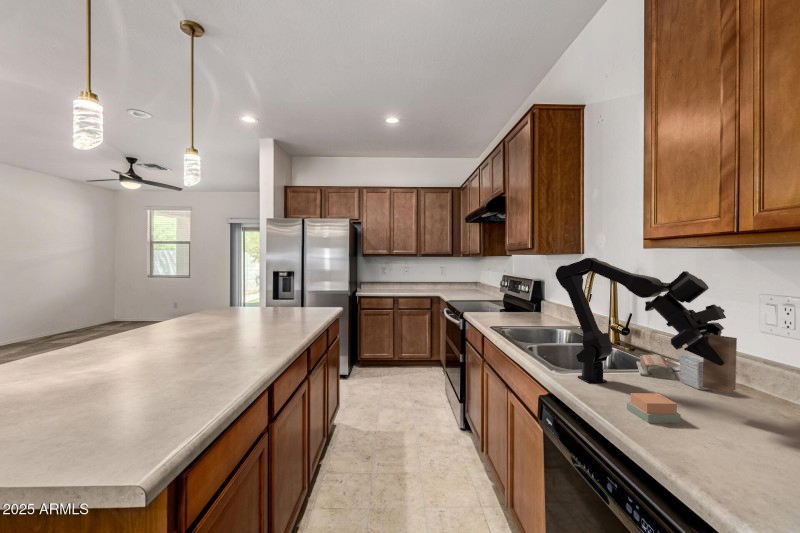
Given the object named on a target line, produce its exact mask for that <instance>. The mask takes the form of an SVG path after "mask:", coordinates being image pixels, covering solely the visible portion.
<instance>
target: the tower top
mask: <svg viewBox="0 0 800 533" xmlns="http://www.w3.org/2000/svg"><path fill="white" fill-rule="evenodd" d="M630 402H631V403H632V404H633V405H635V406H636V407H638V408H639V409H641V410H642V411H644V412H645V413H647V414H677V413H678V412H677V411H678V409H677V408H678V404H677V403H676V402H675V401H674V400H673V401H672V400H671V399H669V398H667V397H666V396H664V395H661V394H660V393H656V392H655V393H645V392H644V393H642V392H641V393H640V392H639V393H636V392H633V393H632V392H631V393H630Z"/></svg>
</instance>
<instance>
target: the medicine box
mask: <svg viewBox="0 0 800 533" xmlns="http://www.w3.org/2000/svg"><path fill="white" fill-rule="evenodd" d="M679 382H680V383H681V384H684V385H687V386H690V387H692V388H694V389H695V390H696V389H697V390H698V391H712V390H713V389H709V388H705V387H703V358H702V357H700V356H697V355H694V354H693V355H692V354H691V355H688V354H686V355H680V356H679Z"/></svg>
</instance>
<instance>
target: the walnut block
mask: <svg viewBox="0 0 800 533" xmlns="http://www.w3.org/2000/svg"><path fill="white" fill-rule="evenodd" d="M708 343H709V345H710V346H711V347H712V348H713V350H714V351H715V352H716V353H717V354H718V356H719V357H720V358H721V359H722V361H723V362H724V364H723V365H721V366H719V365H717V364H715V363H713V362H711V361H709V360H707V359H704V358H703V387H705V388H709V389H713V390H714V391H717V392H722V393H726V394H729V393H731V392H733V391H736V385H737V384H736V378H737V377H736V376H737V346H738V345H737V344H738V342H737V337H731V336H725V335H721V336H719V335H708Z"/></svg>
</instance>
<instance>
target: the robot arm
mask: <svg viewBox="0 0 800 533" xmlns="http://www.w3.org/2000/svg"><path fill="white" fill-rule="evenodd" d="M590 272H592V273H594V274H597V275H599V276H601V277H602V278H603V277H604V278H606V279H608V280H611V281H613V282H615V283H618V284H620V285H622V286H623V287H625V288H626V289H627V290H628V291H629V292H631V293H632V294H633V295H635V296H636V297H639V298H642V299H648V298H653V299H652V300H651V301H649V300H648V301H645V302H644V303H645V307H644V311H645V312H650V311H653V310H655V311H656V312H657V313H658V314H659V315H660V316H661V317H662V318H663V319H664V320H665V321H666V323H665V325H666V326H667V327H670V328H671V327H672V328H673V329H674V330H675V331H676V332H677V333H676V335H674V336H672V337H671V338H670V345H671V346H672V347H673V348H674V349H675V350H681V349H683V350H684V351H687V352H689V353H691V354H693V355H695V356H697V357H699V358H704V359H707V360H709V361H711V362H713V363H715V364H717V365H719V366H721V365H723V364H724V362H723V361H722V359H721V358H720V357H719V356H718V354H717V353H716V352H715V351H714V350H713V348H712V347H711V346H710V345H709V343H708V335H719V336H722V333H723V332H722V331H723V330H724V329H725V327H724V326H722V325H721V323H719V322H714V321H718V320H719V321H720V320H723V319H727V316H726V315H725V309H723V308H722V307H721V306H720V305H719V306H717V305H716V304H710V305H707V306H705V309H704V310H699V311H697V312H696V311H695V310H694V309H687V307H685V306H684V305H683V304H682V303H685V302H686V303H687V304H689V303H690V304H691V303H692V302H693V301H695V300H696V299H698V297H699V296H701V295H702V294H704V293H705V292H707V291H708V290H709V289H710V288H709V286H708V284H707V283H706V282H705V281H704V280H703V279H701V278H698V277H697V276H696V275H694V274H692V273H690V272H689V271H682V272H681V273H679V274H678V276H677V277H676V278H675V279H673V280H672V281H671V282H663V281H661V279H659V278H657V277H653V276H650V275H649V276H648V275H643V274H636V273H632V272H630V271H627V270H624V269H622V268H620V267H617V266H614V265H611V264H609V263H607V262H604V261H601V260H599V259H597V258H595V257H584V258H583V259H581V260H579V261H575V262H573V263H570V264H568V265H564V264H563V265H560V266H558V268H556V271H555V277H556V280H557V282H558V283H559V285H560V286H561V288H563V289H564V290H565V291H566V292H567V294H568V296H569V299H570V302H571V304H572V307H573V310H574V313H575V316H576V317H577V320H578V323H579V325H580V328H581V332H582V340H581V342H582V347H583V349H582V350H581V351H580V352H579V353H577V354H576V356H575V357H576V359H577V362H579V363H581V375H577V378H578V379H580V380H582V381H584V382H586V383H587V384H600V383H608V380H607V379H604V364H603V362H606V361H607V360H608V357H609V356H610V355H611V354H612V352H613V346H614V344H613V342H612V341H611V338H610V334H609V333H608V332H604V333H603V332H602V331H601V330H600V329H599V326H598V323H597V322H596V319H595V317H594V313H593V311H592V309H591V306H590V304H589V301H588V298H587V296H586V294H585V291H584V287H583V285H584V276H586V275H587V274H589V273H590ZM662 293H665V294H663V295H661V294H662ZM685 345H686V346H685ZM683 346H685V348H683Z"/></svg>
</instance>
